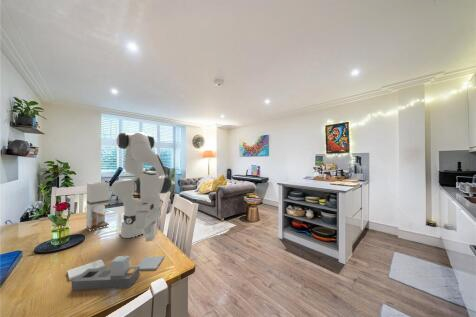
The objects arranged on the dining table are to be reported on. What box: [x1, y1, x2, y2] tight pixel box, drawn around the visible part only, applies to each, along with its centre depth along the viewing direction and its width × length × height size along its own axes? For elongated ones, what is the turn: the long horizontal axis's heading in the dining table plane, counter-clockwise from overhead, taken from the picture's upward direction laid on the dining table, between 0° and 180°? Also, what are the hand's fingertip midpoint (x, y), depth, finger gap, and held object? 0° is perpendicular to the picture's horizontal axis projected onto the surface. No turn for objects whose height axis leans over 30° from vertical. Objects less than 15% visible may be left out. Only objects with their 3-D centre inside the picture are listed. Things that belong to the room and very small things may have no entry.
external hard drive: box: [66, 259, 106, 281], centre depth 80 cm, size 2×8×12 cm
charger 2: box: [142, 221, 158, 242], centre depth 85 cm, size 4×5×8 cm
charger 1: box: [110, 255, 130, 276], centre depth 72 cm, size 4×5×6 cm
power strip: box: [71, 266, 141, 292], centre depth 72 cm, size 8×22×4 cm, turn 94°
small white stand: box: [85, 181, 110, 230], centre depth 134 cm, size 11×11×35 cm
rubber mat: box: [135, 256, 165, 272], centre depth 85 cm, size 10×10×1 cm
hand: (150, 231), depth 85 cm, fingers closed on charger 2, 4 cm apart
